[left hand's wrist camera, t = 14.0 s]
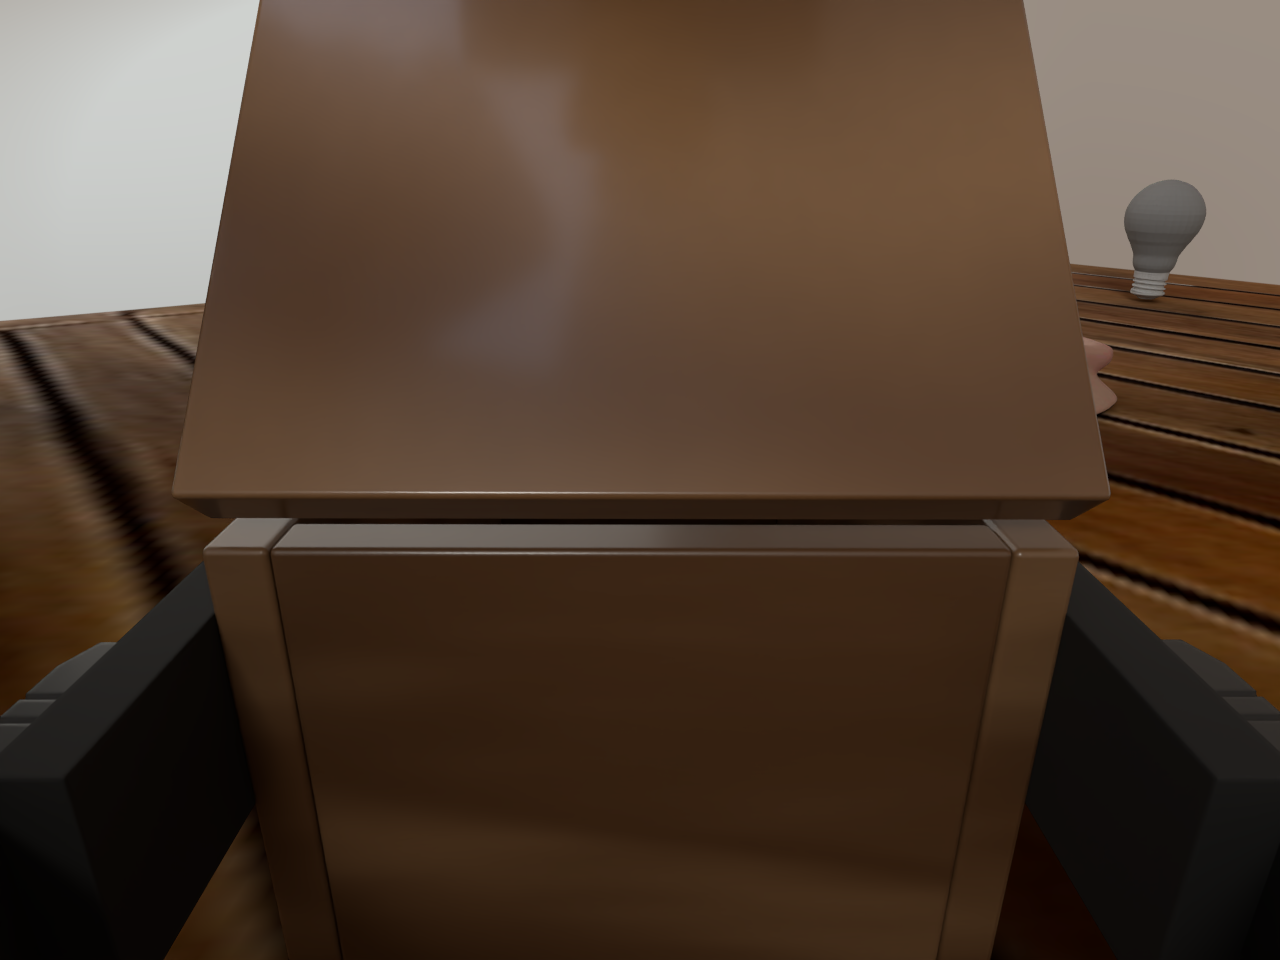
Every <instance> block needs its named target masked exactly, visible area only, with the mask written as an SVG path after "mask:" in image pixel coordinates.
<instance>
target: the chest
mask: <svg viewBox="0 0 1280 960" xmlns="http://www.w3.org/2000/svg"><path fill="white" fill-rule="evenodd" d="M1078 559H1079V556H1078V551H1077V549H1076V548H1075V547H1073V546H1072V545H1071V544H1070V543H1069V542H1068V541H1067V540H1066V539H1065V538H1064V537H1063V536H1062V535H1061V534H1060V533H1059V532H1057V531H1056V530H1055V529H1054V528H1053V527H1052V526H1051V525H1050V524H1049V523H1048V522H1047V521H1046V520H967V519H443V518H236V519H235V520H234V521H233V522H232V523H231V524H229V525H228V526H227V527H226V528H225V529H224V530H223V531H222V532H221V533H220V534H219V535H218V536H217V537H216V538H215V539H214V540H212V541H211V542H210V543H209V544H208V545H207V546H206V547H205V548H204V550H203V560H204V565H205V570H206V574H207V579H208V584H209V588H210V593H211V598H212V602H213V607H214V612H215V616H216V621H217V626H218V631H219V635H220V640H221V645H222V649H223V654H224V659H225V663H226V668H227V673H228V677H229V682H230V687H231V691H232V696H233V701H234V706H235V710H236V715H237V720H238V724H239V729H240V734H241V738H242V743H243V748H244V752H245V757H246V762H247V766H248V771H249V776H250V780H251V785H252V790H253V795H254V799H255V804H256V809H257V813H258V818H259V823H260V827H261V832H262V837H263V841H264V846H265V851H266V855H267V860H268V865H269V870H270V874H271V879H272V884H273V888H274V893H275V898H276V902H277V907H278V912H279V916H280V921H281V926H282V930H283V935H284V940H285V944H286V949H287V954H288V959H289V960H990V958H991V954H992V949H993V945H994V940H995V935H996V931H997V926H998V922H999V917H1000V913H1001V908H1002V904H1003V899H1004V895H1005V890H1006V886H1007V881H1008V876H1009V872H1010V867H1011V863H1012V858H1013V854H1014V849H1015V845H1016V840H1017V836H1018V831H1019V827H1020V822H1021V818H1022V813H1023V808H1024V804H1025V799H1026V795H1027V790H1028V786H1029V781H1030V777H1031V772H1032V768H1033V763H1034V759H1035V754H1036V749H1037V745H1038V740H1039V736H1040V731H1041V727H1042V722H1043V718H1044V713H1045V709H1046V704H1047V700H1048V695H1049V690H1050V686H1051V681H1052V677H1053V672H1054V667H1055V663H1056V658H1057V654H1058V649H1059V644H1060V640H1061V635H1062V631H1063V626H1064V622H1065V617H1066V613H1067V609H1068V604H1069V600H1070V595H1071V591H1072V586H1073V582H1074V577H1075V573H1076V568H1077V563H1078Z"/></svg>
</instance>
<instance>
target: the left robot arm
mask: <svg viewBox="0 0 1280 960" xmlns="http://www.w3.org/2000/svg"><path fill="white" fill-rule="evenodd" d="M1025 803H1026V805H1027V807H1028V808H1029V810H1030V812H1031V813H1032V815H1033V817H1034V819H1035V820H1036V822H1037V824H1038V825H1039V827H1040V829H1041V831H1042V832H1043V834H1044V836H1045V837H1046V839H1047V841H1048V842H1049V844H1050V846H1051V848H1052V849H1053V851H1054V853H1055V854H1056V856H1057V858H1058V859H1059V861H1060V863H1061V865H1062V866H1063V868H1064V870H1065V871H1066V873H1067V875H1068V876H1069V878H1070V880H1071V882H1072V883H1073V885H1074V887H1075V888H1076V890H1077V892H1078V893H1079V895H1080V897H1081V899H1082V900H1083V902H1084V904H1085V905H1086V907H1087V909H1088V910H1089V912H1090V914H1091V916H1092V917H1093V919H1094V921H1095V922H1096V924H1097V926H1098V927H1099V929H1100V931H1101V933H1102V934H1103V936H1104V938H1105V939H1106V941H1107V943H1108V944H1109V946H1110V948H1111V950H1112V951H1113V953H1114V955H1115V956H1116V958H1117V960H1280V712H1279V711H1278V710H1277V709H1276V708H1275V707H1274V706H1272V705H1271V704H1270V703H1269V702H1268V701H1267V700H1266V699H1264V698H1263V697H1257V695H1256V691H1255V690H1254V689H1253V688H1252V687H1251V686H1250V685H1249V684H1247V683H1246V682H1245V681H1244V680H1243V679H1242V678H1241V677H1239V676H1238V675H1237V674H1236V673H1235V672H1234V671H1233V670H1232V669H1230V668H1229V667H1228V666H1227V665H1226V664H1225V663H1223V662H1221V661H1219V660H1217V659H1216V658H1214V657H1212V656H1210V655H1208V654H1206V653H1205V652H1203V651H1201V650H1199V649H1197V648H1195V647H1194V646H1192V645H1190V644H1188V643H1186V642H1184V641H1182V640H1161V639H1160V638H1159V637H1158V636H1157V635H1156V634H1154V633H1153V632H1152V631H1151V630H1150V629H1149V628H1148V627H1147V626H1146V625H1145V624H1144V623H1143V622H1142V621H1141V620H1140V619H1139V618H1137V617H1136V616H1135V615H1134V614H1133V613H1132V612H1131V611H1130V610H1129V609H1128V608H1127V607H1126V606H1125V605H1124V604H1123V603H1122V602H1121V601H1119V600H1118V599H1117V598H1116V597H1115V596H1114V595H1113V594H1112V593H1111V592H1110V591H1109V590H1108V589H1107V588H1106V587H1105V586H1104V585H1103V584H1101V583H1100V582H1099V581H1098V580H1097V579H1096V578H1095V577H1094V576H1093V575H1092V574H1091V573H1090V572H1089V571H1088V570H1087V569H1086V568H1084V567H1083V566H1082V565H1081V564H1080V563H1079V562H1078V563H1077V568H1076V573H1075V577H1074V582H1073V586H1072V591H1071V595H1070V600H1069V604H1068V609H1067V613H1066V617H1065V622H1064V626H1063V631H1062V635H1061V640H1060V644H1059V649H1058V654H1057V658H1056V663H1055V667H1054V672H1053V677H1052V681H1051V686H1050V690H1049V695H1048V700H1047V704H1046V709H1045V713H1044V718H1043V722H1042V727H1041V731H1040V736H1039V740H1038V745H1037V749H1036V754H1035V759H1034V763H1033V768H1032V772H1031V777H1030V781H1029V786H1028V790H1027V795H1026V799H1025ZM254 805H255V799H254V795H253V790H252V785H251V780H250V776H249V771H248V766H247V762H246V757H245V752H244V748H243V743H242V738H241V734H240V729H239V724H238V720H237V715H236V710H235V706H234V701H233V696H232V691H231V687H230V682H229V677H228V673H227V668H226V663H225V659H224V654H223V649H222V645H221V640H220V635H219V631H218V626H217V621H216V616H215V612H214V607H213V602H212V598H211V593H210V588H209V584H208V579H207V574H206V570H205V565H204V561H203V562H202V563H201V564H200V565H198V566H197V567H196V568H195V569H194V570H193V571H192V572H191V573H190V574H189V575H188V576H187V577H186V578H185V579H184V580H183V581H182V582H180V583H179V584H178V585H177V586H176V587H175V588H174V589H173V590H172V591H171V592H170V593H169V594H168V595H167V596H166V597H165V598H163V599H162V600H161V601H160V602H159V603H158V604H157V605H156V606H155V607H154V608H153V609H152V610H151V611H150V612H149V613H148V614H147V615H145V616H144V617H143V618H142V619H141V620H140V621H139V622H138V623H137V624H136V625H135V626H134V627H133V628H132V629H131V630H130V631H129V632H127V633H126V634H125V635H124V636H123V637H122V638H121V639H120V640H119V641H118V642H101V643H99V644H97V645H95V646H93V647H92V648H90V649H88V650H86V651H84V652H82V653H81V654H79V655H77V656H75V657H73V658H71V659H70V660H68V661H66V662H64V663H62V664H60V665H59V666H57V667H56V668H55V669H54V670H52V671H51V672H50V673H49V674H48V675H47V676H46V677H45V678H43V679H42V680H41V681H40V682H39V683H38V684H37V685H36V686H34V687H33V688H32V689H31V690H30V691H29V692H28V693H27V694H26V698H25V700H19V701H18V702H16V703H15V704H14V705H13V706H12V707H11V708H10V709H9V710H7V711H6V712H5V713H4V714H3V715H2V716H1V717H0V960H163V959H164V958H165V956H166V954H167V953H168V951H169V949H170V948H171V946H172V944H173V942H174V941H175V939H176V937H177V936H178V934H179V932H180V931H181V929H182V927H183V925H184V924H185V922H186V920H187V919H188V917H189V915H190V914H191V912H192V910H193V908H194V907H195V905H196V903H197V902H198V900H199V898H200V897H201V895H202V893H203V891H204V890H205V888H206V886H207V885H208V883H209V881H210V880H211V878H212V876H213V874H214V873H215V871H216V869H217V868H218V866H219V864H220V862H221V861H222V859H223V857H224V856H225V854H226V852H227V851H228V849H229V847H230V845H231V844H232V842H233V840H234V839H235V837H236V835H237V834H238V832H239V830H240V828H241V827H242V825H243V823H244V822H245V820H246V818H247V817H248V815H249V813H250V811H251V810H252V808H253V806H254Z"/></svg>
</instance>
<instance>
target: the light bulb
mask: <svg viewBox="0 0 1280 960" xmlns="http://www.w3.org/2000/svg"><path fill="white" fill-rule="evenodd" d="M1205 216H1206V206H1205V202H1204V200H1203V198H1202V195H1201V194H1200V193H1199V192H1198V190H1197V189H1196V188H1195V187H1193V186H1192V185H1190V184H1188V183H1186V182H1182V181H1179V180H1165V181H1160V182H1156V183H1154V184H1151V185H1149V186H1148V187H1146V188H1144V189H1143V190H1142V191H1141V192H1139V193H1138V194H1137V195H1136V196H1135V197H1134V198H1133V200H1132V201H1131V202H1130V204H1129V205H1128V207H1127V209H1126V212H1125V218H1124V226H1125V231H1126V233H1127V236H1128V239H1129V241H1130V244H1131V247H1132V250H1133V266H1134V268H1135V271H1134V272H1135V273H1134V277H1135V279H1133V281H1135V283H1133V284H1132V285H1133V286H1134V288H1131V293H1132V294H1134V295H1136V296H1137V297H1138V298H1140V299H1155V298H1157V297H1160V296H1162V295H1164V292H1163V290H1165V288H1164V285H1166V284H1165V280H1168V276H1169V273H1170V271H1171V270H1172V269H1173V268H1174V266H1175V264H1176V262H1177V259H1178V256H1179V255H1180V254H1181V252H1182V251H1183V250H1184V249H1185V247H1186V246H1187V245H1188V244H1189V243H1190V242H1191V241H1192V239H1193V238H1194V237H1195V236H1196V235H1197V234H1198V232H1199V231H1200V229H1201V227H1202V225H1203V223H1204V220H1205Z"/></svg>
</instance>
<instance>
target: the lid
mask: <svg viewBox="0 0 1280 960" xmlns="http://www.w3.org/2000/svg"><path fill="white" fill-rule="evenodd" d="M172 495H173V497H174V498H175V499H177V500H179V501H181V502H183V503H184V504H186V505H188V506H190V507H192V508H194V509H195V510H197V511H199V512H201V513H203V514H205V515H206V516H208V517H211V518H443V519H967V520H1070V519H1073V518H1075V517H1077V516H1079V515H1080V514H1082V513H1084V512H1086V511H1088V510H1090V509H1092V508H1093V507H1095V506H1097V505H1099V504H1101V503H1103V502H1105V501H1107V500H1108V499H1109V498H1110V487H1109V482H1108V476H1107V470H1106V465H1105V459H1104V454H1103V448H1102V442H1101V437H1100V431H1099V425H1098V420H1097V414H1096V408H1095V403H1094V397H1093V392H1092V386H1091V380H1090V375H1089V369H1088V363H1087V358H1086V352H1085V347H1084V341H1083V335H1082V330H1081V324H1080V318H1079V313H1078V307H1077V301H1076V296H1075V290H1074V285H1073V279H1072V273H1071V268H1070V262H1069V256H1068V251H1067V245H1066V239H1065V234H1064V228H1063V223H1062V217H1061V211H1060V206H1059V200H1058V194H1057V189H1056V183H1055V178H1054V172H1053V166H1052V161H1051V155H1050V149H1049V144H1048V138H1047V132H1046V127H1045V121H1044V116H1043V110H1042V104H1041V99H1040V93H1039V88H1038V82H1037V76H1036V71H1035V65H1034V59H1033V54H1032V48H1031V43H1030V37H1029V31H1028V25H1027V20H1026V14H1025V9H1024V3H1023V0H260V2H259V8H258V13H257V19H256V24H255V30H254V35H253V41H252V47H251V52H250V58H249V63H248V69H247V75H246V80H245V86H244V91H243V97H242V102H241V108H240V114H239V119H238V125H237V130H236V136H235V141H234V147H233V153H232V158H231V164H230V169H229V175H228V181H227V186H226V192H225V197H224V203H223V209H222V214H221V220H220V225H219V231H218V236H217V242H216V247H215V253H214V259H213V264H212V270H211V275H210V281H209V286H208V292H207V298H206V303H205V309H204V314H203V320H202V326H201V331H200V337H199V342H198V348H197V353H196V359H195V365H194V370H193V376H192V381H191V387H190V392H189V398H188V404H187V409H186V415H185V420H184V426H183V431H182V437H181V443H180V448H179V454H178V459H177V465H176V471H175V476H174V482H173V487H172Z"/></svg>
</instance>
